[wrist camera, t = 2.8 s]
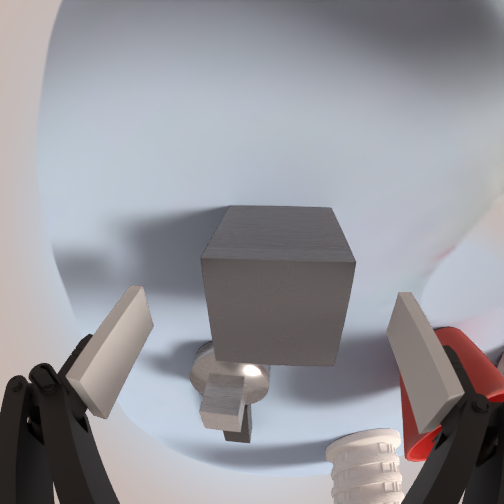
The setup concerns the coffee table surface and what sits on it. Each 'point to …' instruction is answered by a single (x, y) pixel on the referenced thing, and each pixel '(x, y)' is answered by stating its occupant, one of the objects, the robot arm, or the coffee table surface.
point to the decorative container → (366, 468)
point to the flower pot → (480, 375)
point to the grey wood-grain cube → (277, 285)
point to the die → (501, 365)
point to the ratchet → (228, 392)
